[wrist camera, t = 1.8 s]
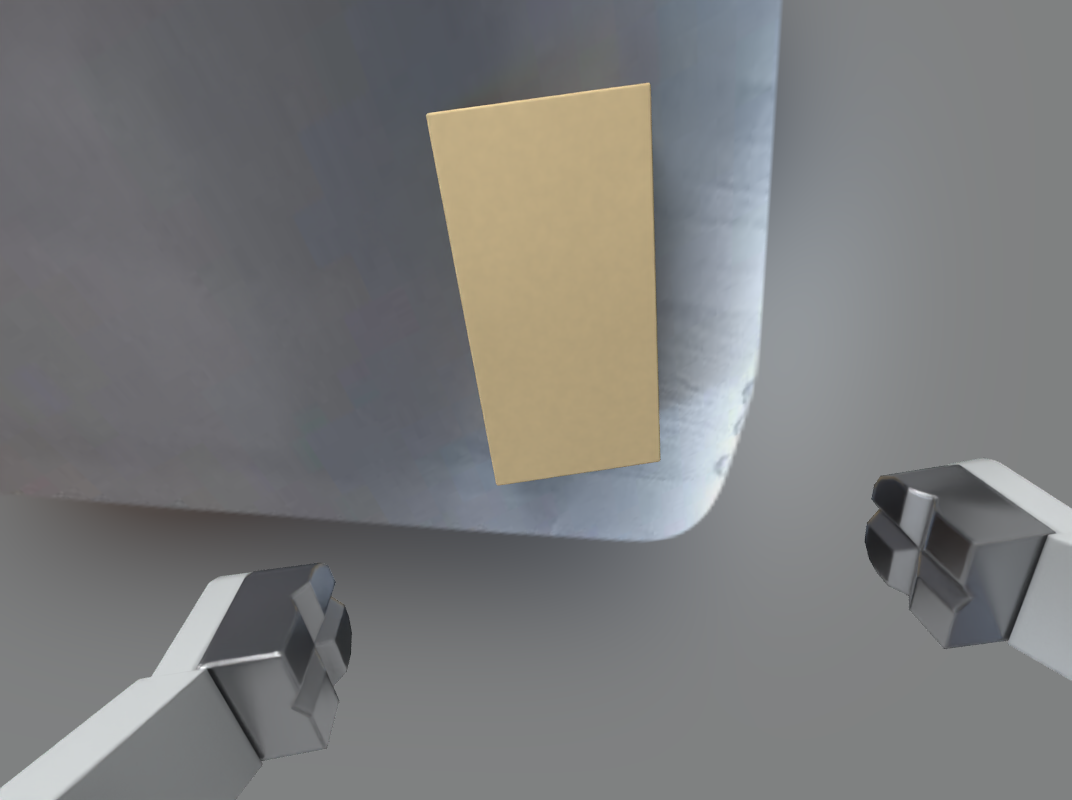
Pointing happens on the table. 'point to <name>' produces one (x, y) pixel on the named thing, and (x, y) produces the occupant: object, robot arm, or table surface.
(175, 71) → the table surface
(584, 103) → the beige pad
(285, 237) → the table surface
